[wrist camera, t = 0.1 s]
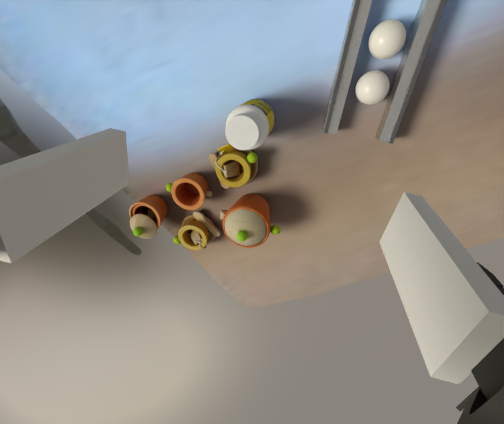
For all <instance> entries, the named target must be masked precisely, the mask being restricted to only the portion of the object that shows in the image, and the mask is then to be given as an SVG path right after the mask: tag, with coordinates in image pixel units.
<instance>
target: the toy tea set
mask: <svg viewBox="0 0 504 424" xmlns="http://www.w3.org/2000/svg"><path fill="white" fill-rule="evenodd" d="M218 150H219V151H221V152H220V153H219V155H218V156H217V154H216V153H211V154H210V155H209V160H210V162H211V164H212V165H213V167H214V168H215V170H216V174H217V176H218V178H219V180H220V184H221V186H222V187H223V188H225V189H228V188H230V187H234V188H235V187H241V186H243V185H245V184H247V183H249V182H251V181H252V180H253V179H254V177H255V176H256V174H257V171H258V161H257V159H258V156H257V154H256V153H253V152H252V151H251V150H239V149H236V148H234V147H233V146H232V145H230V144H227V145H225V146H223V147H221V148H219V149H218ZM166 189H167V191H169V192H171V194H172V197H173V200H174V201H175V203H176V204H177V205H179V206H180V207H182V208H184V209H187V210H195V209H198V208H199V207H201V206H202V204H203V203H204V200H205V198H206V196H207V197H211V196H212V192H211V191H208V189H209V186H208V182H207V181H206V179H205V178H204V177H203V176H201V175H200V174H197V173H190V174H188V175H186V176H184V177H182V178H180V179H178V180H176V181H175V182H174V183H168V184H167V185H166ZM167 212H168V206H167V204H166V202H165V201H164V200H163V199H162V198H161V197H159V196H156V195H150V196H148V197H146V198H144V199H142V200H140V201H138V202H136V203H134V204H133V205H132V206H131V207H130V210H129V215H130V219H131V220H130V226H131V229H132V231H133V234H134V235H135V236H139V237H141V238H144V239H150V238H153V237H154V236H155V235H156V233H157V229H158V228H159V226H160V225H161V223H162V221H163V219H164V218H165V216H166V214H167ZM220 219H223V230H224V233H225V235H226V236H227V237H228V239H229V240H230V241H232V242H233V243H234V244H236V245H239V246H242V247H248V248H249V247H256V246H259V245H261V244H262V243H264V242H265V241H266V239H267V238H268V236H269V233H270V232H271V233H272V234H274V235H277V234H279V233H280V227H279V226H277V225H274V226H270V208H269V204H268V202H267V201H266V200H265V199H264V198H263V197H262V196H260V195H257V194H247V195H244V196H242V197H241V198H240V199H239V200H238V201H237V202H236V203H235V204H234V205H233V206H232V207H231V208H230V209H229V210H221V212H220ZM220 234H221V232H220V231H219V230H218V229H217V228H216V227H215V225H214V223H213V222H212V221H211V220H210V219H209V218H207V217H206V216H204V214H203V213H201V212H199V211H195V212H194V213H193V214H191V215H189V216H187V217H186V218H185V219H184V220H183V223H182V228H181V229H180V230H179V232H178V236H176V237H174V239H173V241H174V242H175V244H180V243H182V245H184V246H185V247H186V248H188V249H191V250H200V249H205V248H206V245H207V244H209V243H211V242H212V241H213V240H214V239H215V237H219V236H220Z"/></svg>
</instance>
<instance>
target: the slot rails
mask: <svg viewBox="0 0 504 424" xmlns="http://www.w3.org/2000/svg"><path fill="white" fill-rule="evenodd" d="M446 1H447V0H422V1H421V4H420V7H419V10H418V13H417V16H416V19H415V22H414V25H413V28H412V31H411V34H410V36H409V39H408V42H407V45H406V48H405V51H404V54H403V57H402V60H401V63H400V66H399V69H398V72H397V75H396V78H395V81H394V84H393V86H392V89H391V92H390V95H389V98H388V101H387V104H386V107H385V110H384V113H383V116H382V119H381V122H380V125H379V128H378V131H377V134H376V136H375V137H376V138H377V139H378V140H379V141H383V142H388V143H393V142H394V139H395V136H396V134H397V131H398V128H399V126H400V123H401V120H402V118H403V115H404V112H405V110H406V107H407V104H408V102H409V99H410V96H411V94H412V91H413V89H414V86H415V83H416V81H417V78H418V75H419V73H420V70H421V67H422V65H423V62H424V59H425V57H426V54H427V51H428V49H429V46H430V43H431V41H432V38H433V35H434V33H435V30H436V27H437V25H438V22H439V20H440V17H441V14H442V12H443V9H444V6H445V4H446ZM371 3H372V0H353V2H352V6H351V11H350V15H349V19H348V23H347V27H346V31H345V36H344V40H343V44H342V48H341V52H340V57H339V61H338V65H337V69H336V73H335V78H334V82H333V86H332V90H331V94H330V99H329V103H328V107H327V111H326V115H325V120H324V124H323V128H322V129H323V132H324V133H332V134H337V131H338V127H339V123H340V119H341V116H342V112H343V108H344V104H345V101H346V97H347V93H348V89H349V86H350V82H351V78H352V74H353V71H354V67H355V63H356V59H357V56H358V52H359V48H360V44H361V41H362V37H363V33H364V29H365V26H366V22H367V18H368V14H369V11H370V7H371Z"/></svg>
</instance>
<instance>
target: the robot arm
mask: <svg viewBox="0 0 504 424" xmlns="http://www.w3.org/2000/svg"><path fill="white" fill-rule="evenodd" d="M128 184H130V183H129V170H128V158H127V145H126V132H125V131H121V130H116V129H111V128H110V129H107V130H104V131H101V132H98V133H95V134H92V135H89V136H86V137H83V138H81V139H78V140H75V141H72V142H69V143H66V144H63V145H60V146H57V147H54V148H51V149H48V150H45V151H42V152H39V153H36V154H33V155H30V156H27V157H24V158H21V159H18V160H15V161H12V162H9V163H7V164H4V165H1V166H0V261H4V262H8V263H13V262H14V261H16V260H17V259H19V258H20V257H22V256H23V255H25V254H26V253H28V252H29V251H31V250H32V249H34V248H35V247H36V246H38V245H39V244H41V243H42V242H44V241H45V240H47V239H48V238H50V237H51V236H53V235H54V234H56V233H57V232H59V231H60V230H62V229H63V228H65V227H66V226H67V225H69V224H70V223H72V222H73V221H75V220H76V219H78V218H79V217H81V216H82V215H84V214H85V213H87V212H88V211H90V210H91V209H93V208H94V207H96V206H97V205H98V204H100V203H101V202H103V201H104V200H106V199H107V198H109V197H110V196H112V195H113V194H115V193H116V192H118V191H119V190H121V189H122V188H124V187H125V186H127V185H128ZM380 245H381V247H382V250H383V253H384V255H385V258H386V261H387V263H388V266H389V269H390V271H391V274H392V276H393V279H394V281H395V284H396V287H397V289H398V292H399V295H400V297H401V300H402V303H403V305H404V308H405V311H406V313H407V315H408V318H409V321H410V323H411V326H412V329H413V332H414V334H415V337H416V339H417V342H418V345H419V347H420V350H421V352H422V355H423V358H424V360H425V363H426V366H427V368H428V371H429V374H430V376H431V377H433V378H437V379H441V380H444V381H448V382H452V383H455V384H460V383H461V382H462V381H463V380H464V379H465V378H466V377H467V376H468V375H469V374H470V373H471V372H472V373H473V375H474V377H475V379H476V381H477V383H478V385H479V387H478V388H477V389H476V390H475V391H473V392H472V393H471V394H470V395H469V396H468V397H467V398H466V399H465V400H464V401H462V403H460V404H459V405H458V406H457V407H456V408H457V409H458V410H459V411H461V410H463V409H464V410H463V413H462V415H461V417H460V419H459V421H458V423H457V424H504V288H503V285H502V284H501V283H500V282H499V281H498V280H497V278H496V277H495V276H494V275H493V274H492V273H491V272H489V271H488V270H487V269H485V268H484V267H483V266H482V265H480V264H479V263H477V262H475V260H474V259H473V258H472V256H471V255H470V254H469V253H468V252H467V250H466V249H465V248H464V247H463V245H462V244H461V243H460V242H459V241H458V239H457V238H456V237H455V236H454V235H453V233H452V232H451V231H450V230H449V228H448V227H447V226H446V225H445V224H444V222H443V221H442V220H441V219H440V218H439V216H438V215H437V214H436V213H435V211H434V210H433V209H432V208H431V207H430V205H429V204H428V203H427V202H426V201H425V199H424V198H423V197H422V196H419V195H415V194H410V193H406V192H404V193H403V195H402V197H401V199H400V201H399V203H398V205H397V207H396V209H395V211H394V213H393V215H392V217H391V219H390V222H389V224H388V226H387V228H386V230H385V232H384V234H383V236H382V238H381V240H380Z"/></svg>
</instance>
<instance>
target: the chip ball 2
mask: <svg viewBox="0 0 504 424" xmlns="http://www.w3.org/2000/svg"><path fill="white" fill-rule="evenodd" d="M389 86H390V84H389V79H388V77H387V76H386V75H385V74H384V73H383V72H381V71H376V70H375V71H370V72H367V73H365V74H364V75H363V76H362V77H361V78H360V79H359V80H358V82H357V85H356V96H357V98H358V99H359V101H361V102H362V103H364V104H367V105H372V104H376V103H378V102H380V101H381V100H383V99H384V98H385V96H386V95H387V93H388V91H389Z"/></svg>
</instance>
